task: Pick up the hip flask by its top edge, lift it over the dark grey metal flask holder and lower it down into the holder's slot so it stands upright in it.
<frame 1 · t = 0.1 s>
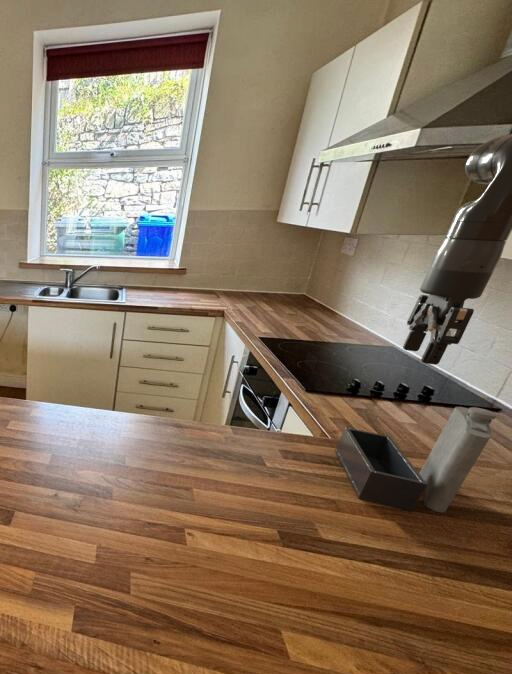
hand: (418, 356, 75), 30 cm above the worktop, tool pointing down, fingers open, 8 cm apart
hip flask: (433, 493, 86), on the worktop
flask holder: (368, 477, 90), on the worktop
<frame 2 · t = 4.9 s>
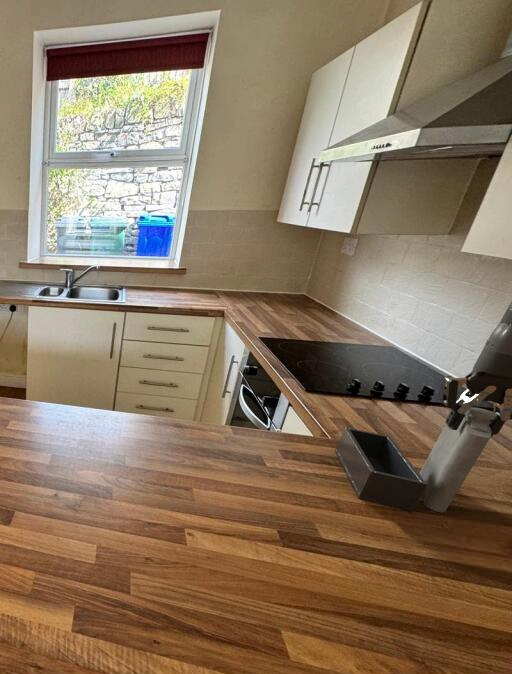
hand: (469, 431, 80), 15 cm above the worktop, tool pointing down, fingers closed on hip flask, 4 cm apart
hip flask: (433, 493, 86), on the worktop, touching gripper
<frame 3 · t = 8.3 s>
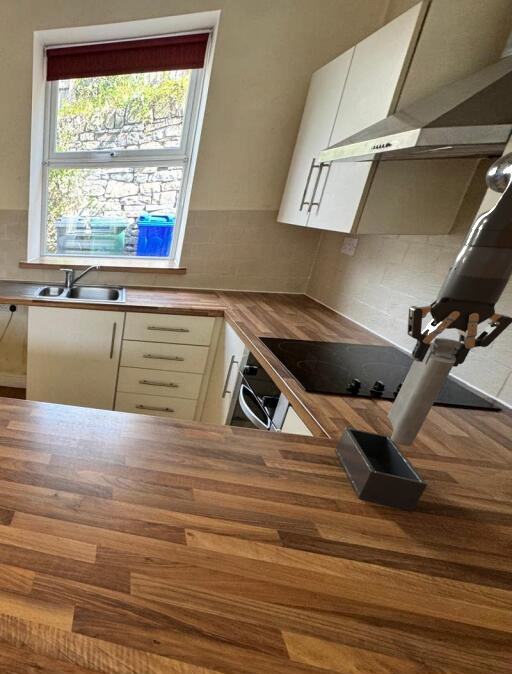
hand: (434, 362, 78), 28 cm above the worktop, tool pointing down, fingers closed on hip flask, 4 cm apart
hip flask: (401, 431, 85), point 13 cm above the worktop, touching gripper
when the fingers open (16 cm above the worktop, at t = 12.0 s): hip flask stays where it is, resting on flask holder.
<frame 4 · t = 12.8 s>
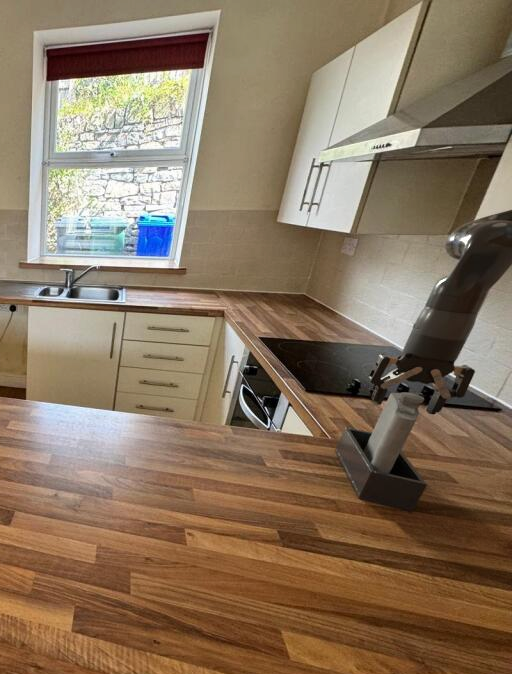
hand: (402, 408, 83), 18 cm above the worktop, tool pointing down, fingers open, 8 cm apart
hip flask: (371, 476, 90), point 1 cm above the worktop, touching flask holder
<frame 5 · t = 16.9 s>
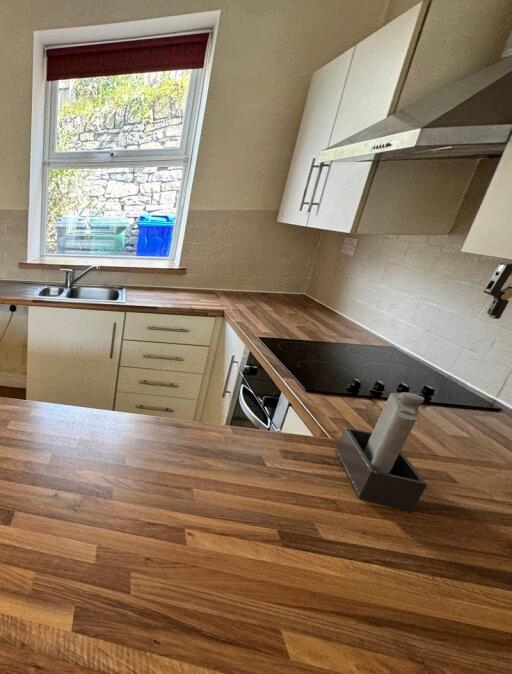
nothing on the worktop moved.
at the end: hip flask 0.2 cm off-centre in the flask holder, point 0.6 cm above the flask holder's base; hip flask tilted 0°; the gripper is holding nothing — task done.
